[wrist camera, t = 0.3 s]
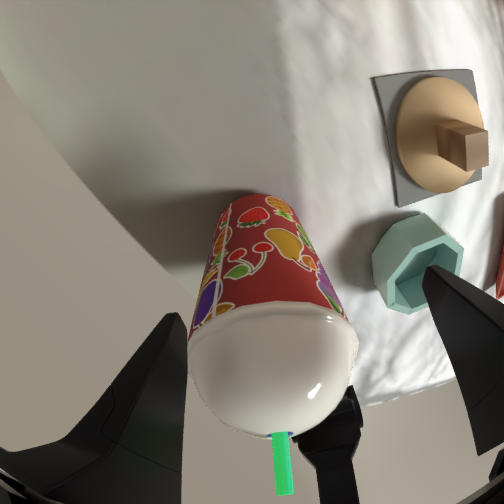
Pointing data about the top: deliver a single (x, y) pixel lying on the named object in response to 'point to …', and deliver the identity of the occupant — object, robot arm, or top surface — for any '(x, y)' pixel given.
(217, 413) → the smoothie
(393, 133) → the mat
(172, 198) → the top surface
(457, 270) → the bowl
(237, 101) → the top surface
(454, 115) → the lid
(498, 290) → the plant saucer
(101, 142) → the top surface
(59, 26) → the top surface
